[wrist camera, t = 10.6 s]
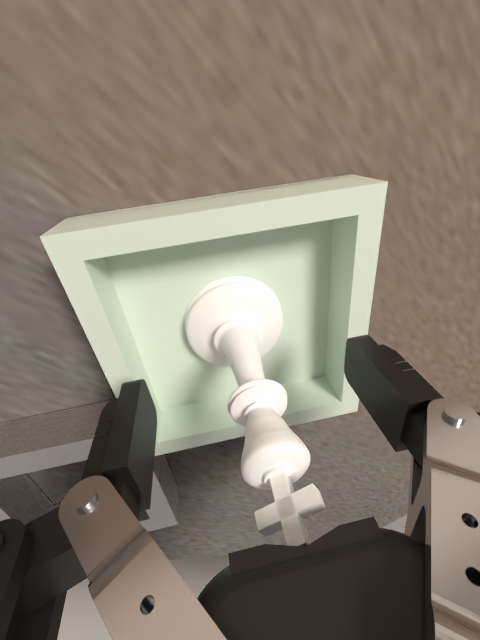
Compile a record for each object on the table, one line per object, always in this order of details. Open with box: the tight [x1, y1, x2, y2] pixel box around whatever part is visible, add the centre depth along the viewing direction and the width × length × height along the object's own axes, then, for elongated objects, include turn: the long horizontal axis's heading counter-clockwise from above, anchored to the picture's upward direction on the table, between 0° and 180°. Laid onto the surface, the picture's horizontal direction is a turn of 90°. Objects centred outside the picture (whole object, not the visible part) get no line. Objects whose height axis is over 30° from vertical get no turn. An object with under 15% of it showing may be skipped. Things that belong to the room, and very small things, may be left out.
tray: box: [40, 174, 388, 456], centre depth 15 cm, size 12×12×3 cm
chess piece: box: [184, 276, 326, 546], centre depth 11 cm, size 5×5×10 cm
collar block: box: [0, 401, 178, 532], centre depth 19 cm, size 10×10×2 cm
